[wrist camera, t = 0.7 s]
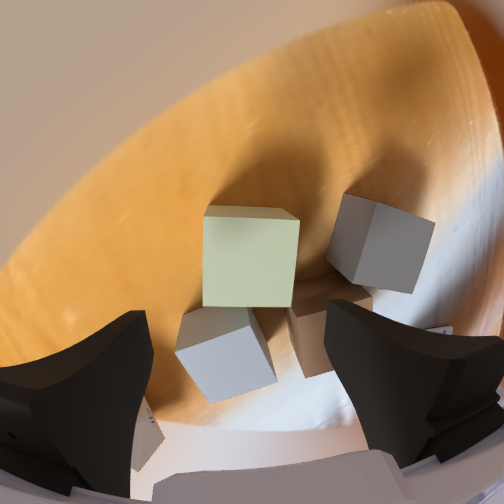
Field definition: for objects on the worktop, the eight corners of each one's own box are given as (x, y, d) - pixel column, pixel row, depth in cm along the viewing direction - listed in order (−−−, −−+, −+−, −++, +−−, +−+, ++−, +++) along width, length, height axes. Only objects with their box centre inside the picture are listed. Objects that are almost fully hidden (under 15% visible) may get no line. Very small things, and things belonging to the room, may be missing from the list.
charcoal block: (396, 210, 21) (435, 222, 16) (378, 269, 22) (412, 294, 17) (342, 193, 20) (376, 201, 15) (324, 258, 21) (351, 283, 17)
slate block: (243, 290, 21) (249, 325, 17) (267, 342, 23) (277, 381, 18) (182, 314, 21) (174, 352, 17) (210, 362, 23) (209, 403, 18)
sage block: (281, 207, 20) (300, 220, 15) (275, 276, 21) (290, 306, 17) (208, 204, 19) (203, 216, 15) (206, 274, 21) (202, 306, 16)
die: (185, 409, 25) (157, 431, 16) (149, 469, 22) (113, 504, 13) (119, 365, 26) (70, 364, 17) (87, 424, 23) (36, 439, 14)
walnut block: (343, 270, 22) (372, 296, 17) (347, 324, 23) (372, 357, 18) (280, 285, 22) (296, 317, 17) (290, 339, 23) (305, 378, 18)
